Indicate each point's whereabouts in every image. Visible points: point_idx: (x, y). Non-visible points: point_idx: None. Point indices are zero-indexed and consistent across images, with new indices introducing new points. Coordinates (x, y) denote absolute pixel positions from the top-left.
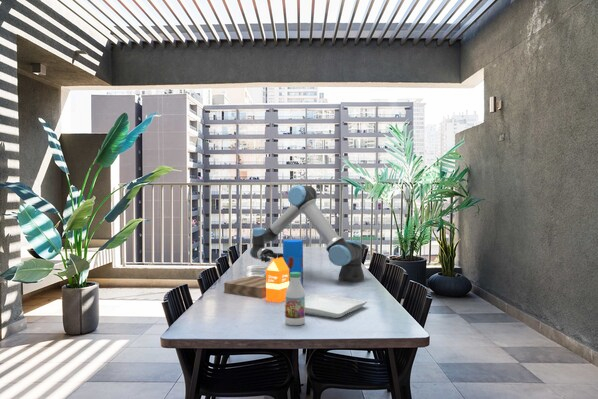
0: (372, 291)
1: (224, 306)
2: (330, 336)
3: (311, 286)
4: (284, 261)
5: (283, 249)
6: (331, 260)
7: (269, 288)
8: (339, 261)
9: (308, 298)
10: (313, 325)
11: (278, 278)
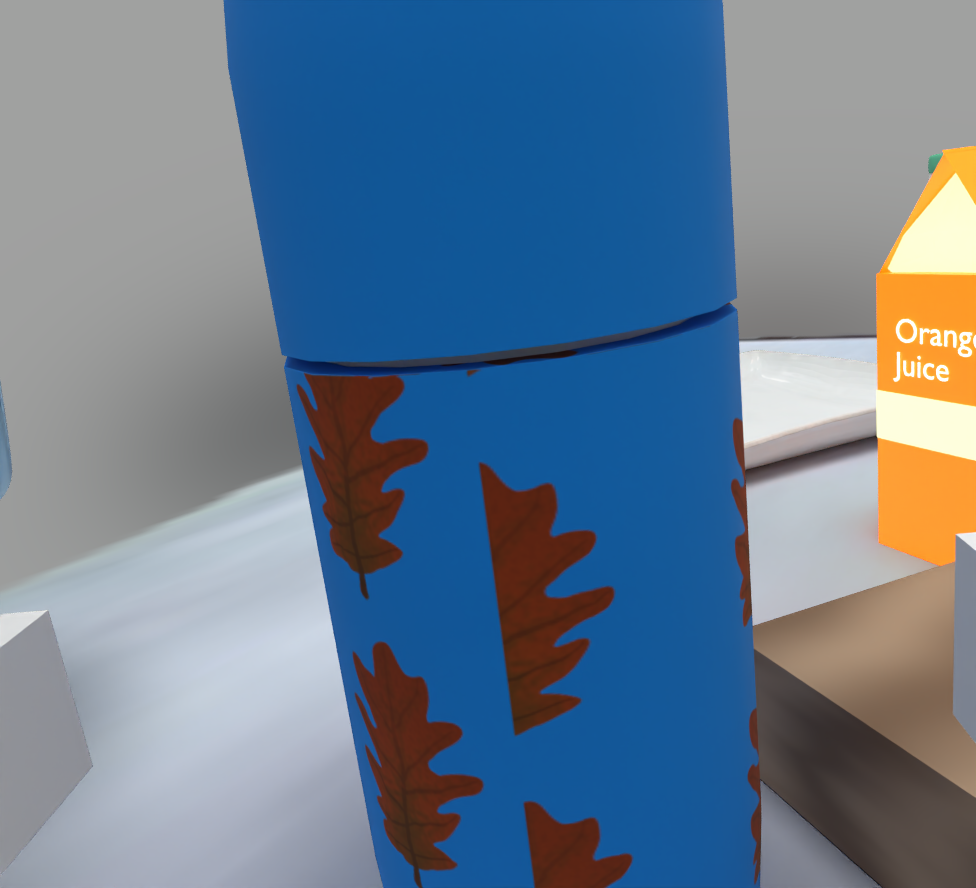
0: (164, 552)
1: None
2: (858, 342)
3: (336, 798)
4: (922, 199)
5: (728, 148)
6: (5, 447)
7: None
8: (6, 435)
9: (770, 442)
10: None
11: None
